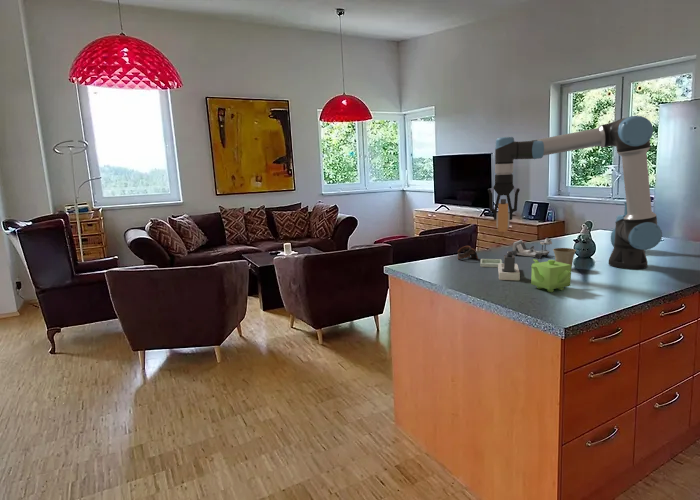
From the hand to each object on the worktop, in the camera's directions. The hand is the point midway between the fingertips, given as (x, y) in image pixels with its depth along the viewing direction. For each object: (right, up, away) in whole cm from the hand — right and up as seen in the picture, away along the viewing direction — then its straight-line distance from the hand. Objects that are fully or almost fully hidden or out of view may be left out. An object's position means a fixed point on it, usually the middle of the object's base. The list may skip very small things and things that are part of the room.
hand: (502, 227), depth 210 cm
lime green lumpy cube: (+8, -25, -28) cm, 38 cm away
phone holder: (+25, -14, +32) cm, 43 cm away
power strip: (0, -21, -6) cm, 22 cm away
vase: (+75, -11, +34) cm, 84 cm away
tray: (-2, -17, +12) cm, 21 cm away
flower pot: (+28, -19, +2) cm, 33 cm away
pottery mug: (-9, -15, +26) cm, 32 cm away
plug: (0, -2, 0) cm, 2 cm away
